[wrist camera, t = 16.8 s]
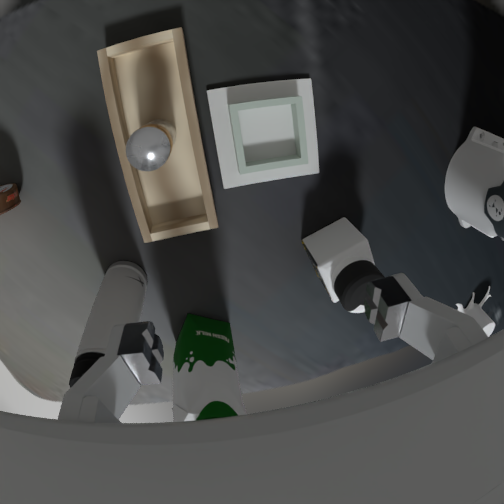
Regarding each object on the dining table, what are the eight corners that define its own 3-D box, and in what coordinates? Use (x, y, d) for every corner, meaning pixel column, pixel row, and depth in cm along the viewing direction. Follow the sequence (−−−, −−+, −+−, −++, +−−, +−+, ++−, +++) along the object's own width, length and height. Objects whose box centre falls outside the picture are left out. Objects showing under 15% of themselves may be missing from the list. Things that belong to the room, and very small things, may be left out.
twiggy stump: (426, 347, 64) (441, 370, 57) (462, 284, 55) (484, 306, 48) (469, 338, 69) (483, 357, 62) (501, 283, 59) (519, 301, 52)
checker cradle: (309, 78, 31) (317, 78, 29) (317, 171, 37) (325, 177, 35) (206, 90, 30) (207, 90, 28) (223, 187, 36) (225, 194, 34)
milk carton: (237, 319, 48) (259, 432, 30) (217, 355, 51) (231, 459, 34) (183, 307, 45) (184, 425, 28) (169, 345, 48) (167, 453, 31)
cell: (173, 114, 30) (165, 121, 23) (180, 149, 32) (174, 166, 25) (138, 123, 30) (120, 133, 23) (145, 157, 32) (131, 176, 25)
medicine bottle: (300, 239, 42) (332, 291, 32) (344, 215, 41) (388, 260, 31) (317, 274, 46) (347, 329, 35) (357, 252, 45) (396, 301, 35)
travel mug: (148, 259, 40) (124, 381, 23) (147, 297, 43) (132, 417, 26) (104, 255, 38) (59, 370, 21) (107, 293, 41) (75, 408, 24)
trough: (183, 33, 26) (181, 27, 23) (216, 215, 38) (218, 227, 35) (106, 54, 26) (97, 51, 23) (148, 230, 38) (144, 243, 35)
